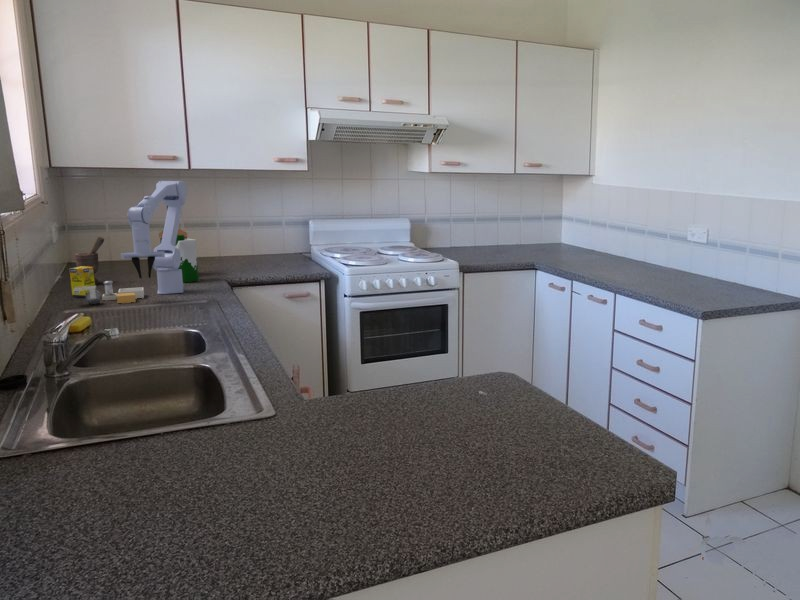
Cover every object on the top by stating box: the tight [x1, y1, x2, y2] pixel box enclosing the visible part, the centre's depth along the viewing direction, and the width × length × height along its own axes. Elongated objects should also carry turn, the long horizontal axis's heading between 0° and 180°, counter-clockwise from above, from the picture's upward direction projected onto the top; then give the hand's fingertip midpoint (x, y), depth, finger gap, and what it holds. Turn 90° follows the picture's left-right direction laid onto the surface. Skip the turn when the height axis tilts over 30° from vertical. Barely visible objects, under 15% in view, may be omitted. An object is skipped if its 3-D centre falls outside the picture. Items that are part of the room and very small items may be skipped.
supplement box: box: [69, 266, 96, 298], centre depth 232 cm, size 6×6×11 cm
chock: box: [116, 293, 137, 304], centre depth 222 cm, size 6×5×3 cm
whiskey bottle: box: [158, 205, 189, 244], centre depth 272 cm, size 10×10×32 cm
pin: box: [102, 280, 114, 296], centre depth 226 cm, size 3×3×7 cm
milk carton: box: [175, 235, 200, 284], centre depth 261 cm, size 9×9×20 cm
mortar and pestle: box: [74, 236, 105, 285], centre depth 255 cm, size 12×9×20 cm
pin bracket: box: [101, 292, 118, 301], centre depth 227 cm, size 5×5×2 cm
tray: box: [117, 286, 145, 300], centre depth 229 cm, size 8×7×3 cm
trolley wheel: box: [74, 285, 103, 305], centre depth 217 cm, size 8×5×6 cm, turn 111°
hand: (145, 277), depth 223 cm, fingers open, 2 cm apart
